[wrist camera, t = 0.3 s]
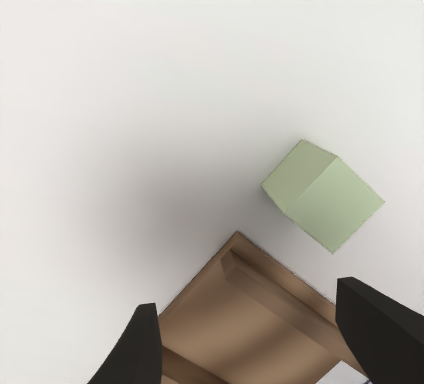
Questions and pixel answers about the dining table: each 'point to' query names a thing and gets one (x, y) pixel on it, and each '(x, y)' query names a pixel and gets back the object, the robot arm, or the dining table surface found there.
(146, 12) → the dining table surface
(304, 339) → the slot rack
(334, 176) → the sage block
